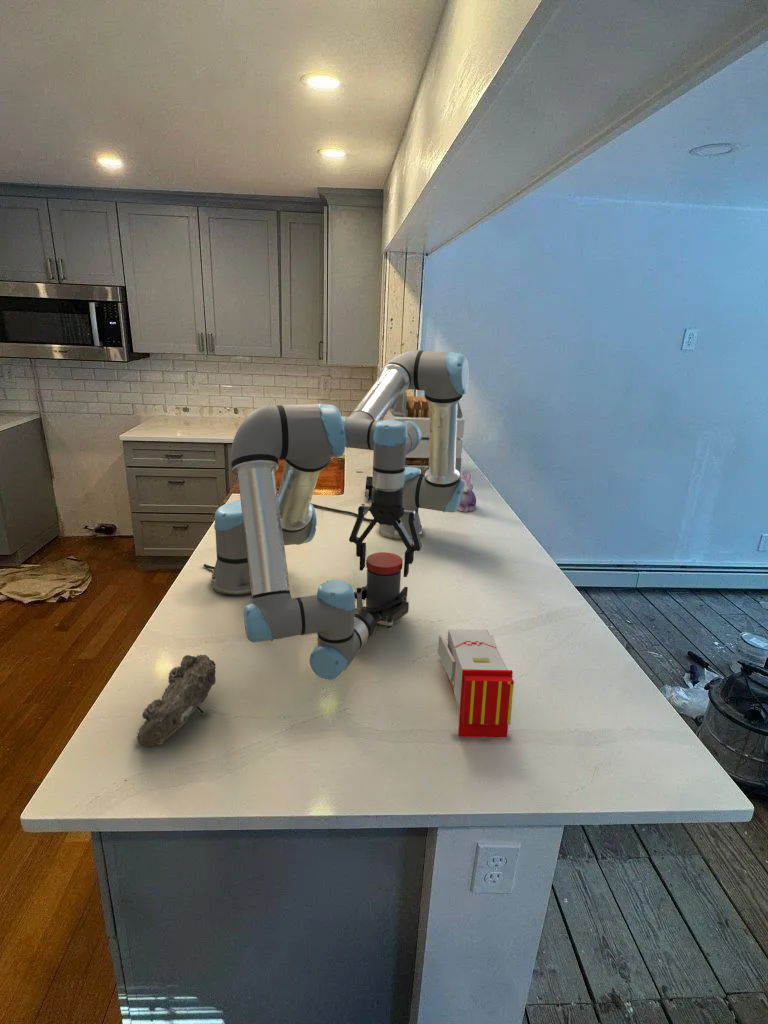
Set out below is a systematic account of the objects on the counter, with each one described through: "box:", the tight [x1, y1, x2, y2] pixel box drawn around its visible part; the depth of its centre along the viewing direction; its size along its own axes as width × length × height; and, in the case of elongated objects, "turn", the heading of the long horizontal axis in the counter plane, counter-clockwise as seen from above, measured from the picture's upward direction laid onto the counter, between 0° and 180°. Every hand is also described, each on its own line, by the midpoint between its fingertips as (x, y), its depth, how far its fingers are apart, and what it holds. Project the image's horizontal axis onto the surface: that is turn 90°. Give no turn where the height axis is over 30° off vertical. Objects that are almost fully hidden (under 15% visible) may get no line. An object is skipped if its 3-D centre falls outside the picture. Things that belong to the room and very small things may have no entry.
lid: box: [365, 551, 404, 574], centre depth 141 cm, size 9×9×2 cm
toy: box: [437, 628, 515, 738], centre depth 117 cm, size 12×13×30 cm
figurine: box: [457, 471, 477, 513], centre depth 226 cm, size 9×10×15 cm
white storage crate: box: [385, 390, 465, 475], centre depth 268 cm, size 34×33×41 cm
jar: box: [365, 568, 402, 626], centre depth 143 cm, size 8×8×15 cm
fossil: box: [136, 654, 217, 747], centre depth 108 cm, size 22×10×15 cm
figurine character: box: [364, 475, 374, 503], centre depth 235 cm, size 7×8×15 cm
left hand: (389, 587), depth 148 cm, fingers closed on jar, 8 cm apart
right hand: (383, 571), depth 142 cm, fingers open, 10 cm apart
